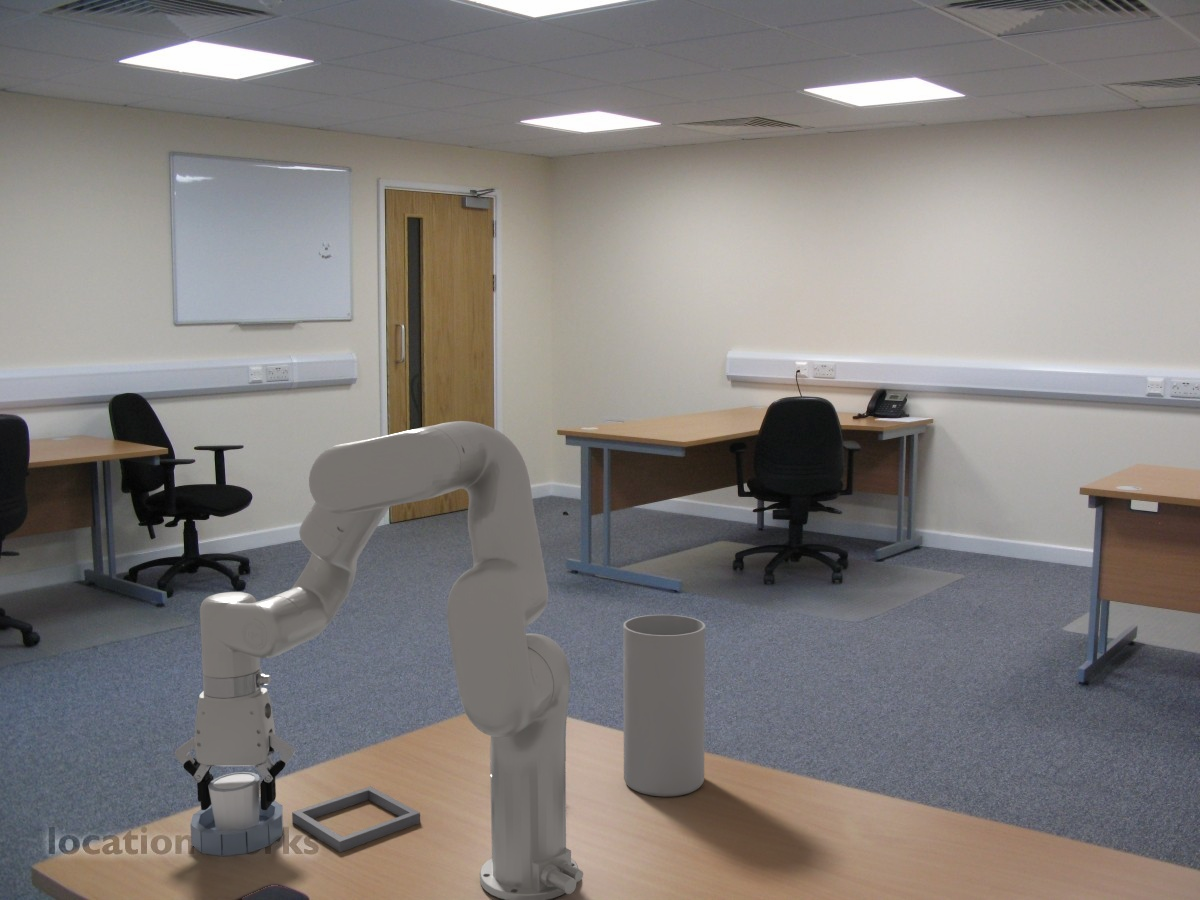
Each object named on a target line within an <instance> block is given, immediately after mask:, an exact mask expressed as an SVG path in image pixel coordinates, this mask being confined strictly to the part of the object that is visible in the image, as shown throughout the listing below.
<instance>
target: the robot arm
mask: <svg viewBox="0 0 1200 900" xmlns="http://www.w3.org/2000/svg"><path fill="white" fill-rule="evenodd" d="M308 486H309V491H310V492H309V493H310V494H311V497H312V498H313V500H314V501H315V502H314V504H313V505H312V507H311V508H310V509H309V511H308V514H307V515H306V517H304V520H303V521H302V523H301V525H300V527H299V538H300V540H301V542H302V544H303V545H304V546H305V548H306V549H307V550H308V551H309V553H311V555H310V558H309V559H308V562H307V564H306V565H305V567H304V569H303V570H302V572H301V574H300V576H298V578H297V580H296V581H295V583H294V585H292V587H291V588H290V589H288V590H286V591H283V592H280V593H278V594H275V595H273V596H271V597H268V598H266V599H262V600H258V601H257V599H256V598H255V596H254V595H252V594H251V593H248V592H243V591H228V592H220V593H215V594H211V595H209V596H207V597H205V598H204V599H203V600H202V602H201V605H200V607H199V617H200V620H199V622H200V639H201V642H200V644H201V662H202V665H201V666H202V683H203V691H201V693H200V694H199V697H198V700H197V701H198V702H197V706H196V707H197V708H196V716H195V722H194V723H195V724H194V726H195V727H194V736H193V737H191V738H190V739H188V740H187V741H185V742H184V744H181V745H180V746H179V747H178V748H177V749H176V750H175V751H174V757H175V758H176V759H177V760H178V761H179V763H181V764H182V765H183V769H184V770H185V771H186V772H187V773H188V774H189V775H191V777H192V779H193V781H194V782H195V783H196V784H197V785H196V787H197V790H196V791H197V801H198V802H200V810H206V809H208V808H209V806H210V805H211V799H210V794H209V788H208V785H209V783H210V782H211V781H212V780H214V776H213V774H212V773H210V771H211V770H212V768H213V767H255V769H256V770H257V772H258V774H259V776H261V777H262V781H260V798H261V809H262V810H267V809H268V808H269V806H270V805H271V804H272V802H274V801H276V797H277V791H276V789H277V787H276V777H277V776H278V775H280V773H281V771H283V769H285V767H286V766H287V765H288V763H289V762H290V760H291V759H292V758H293V756H294V755H295V753H296V748H295V747H294V746H292V745H291V744H290V743H288V742H286V741H285V740H284V739H282V737H280V736H278V735H277V734H276V727H275V720H274V713H273V709H272V708H273V707H272V703H271V698H270V695H269V691H268V688H266V687H264V686H266V685H269V686H270V684H271V682H272V677H271V674H266V673H263V669H262V667H261V659H270V658H275V657H277V656H280V655H282V654H284V653H287V652H288V651H290V650H292V649H294V648H296V647H297V646H301V645H302V644H304V643H306V642H308V641H311V640H312V639H314V638H316V637H318V636H319V635H320V634H321V633H322V632H323V631H324V630H325V629H326V628H327V627H328V626H329V624H330V623H331V622H332V620H333V618H334V617H335V616H336V615H337V613H338V611H339V610H340V608H341V607H342V605H343V603H344V602H345V600H346V599H347V597H348V595H349V594H350V593H351V592H350V591H351V590H352V587H353V585H354V581H355V577H356V572H357V567H358V559H359V557H360V555H361V553H362V552H363V550H364V549H365V547H366V545H367V544H368V542H369V540H370V539H371V537H372V536H373V534H374V532H375V531H376V530H377V527H379V524H380V523H381V521H382V520H383V518H384V517H385V515H386V514H387V513H388V511H389V509H390V507H393V506H399V505H404V504H409V503H414V502H415V503H416V502H419V501H425V500H426V501H427V500H430V499H433V498H437V497H440V496H442V495H446V494H449V493H452V492H456V491H458V490H460V489H461V490H465V491H466V492H467V495H468V496H467V497H468V508H467V530H468V534H469V540H470V544H471V545H470V546H471V553H472V559H473V561H472V562H473V563H472V565H473V567H471V568H469V569H467V570H465V571H464V572H463V573H462V574H461V575H460V576H459V577H458V578H457V579H456V580H455V582H454V583H453V585H452V587H451V589H450V590H449V594H448V598H447V603H446V623H447V630H448V632H447V633H448V637H449V643H450V647H451V655H452V659H453V660H452V661H453V667H454V673H455V679H456V684H457V685H456V686H457V689H458V694H459V699H460V703H461V705H462V707H463V711H464V713H465V715H466V717H467V718H468V720H469V721H470V723H471V724H472V725H473V726H474V727H475V728H476V729H477V730H479V731H480V732H482V733H483V734H484V735H487V736H490V746H489V747H490V748H489V749H490V750H489V751H490V752H489V753H490V756H489V757H490V770H489V771H490V824H491V825H490V826H491V827H490V828H491V833H490V834H491V837H490V838H491V858H489V859H488V860H486V862H484V863H483V865H482V866H481V868H480V870H479V882H480V885H481V887H482V888H483V889H484V891H485V892H487V893H489V894H490V895H491V896H494V897H496V898H497V899H501V900H552V899H555V898H557V897H560V896H562V895H564V894H567V895H570V894H573V892H575V890H576V888H577V883H578V882H580V881H581V880H582V879H583V878H584V872H583V870H581V869H579V866H578V864H577V862H576V861H575V860H574V859H573V858H572V850H571V849H569V848H567V813H566V812H567V798H566V797H567V796H566V795H567V789H566V785H567V784H566V779H567V777H566V775H567V772H566V769H567V768H566V766H567V765H566V764H567V763H566V761H567V759H566V758H567V756H566V755H567V752H566V751H567V746H566V745H567V743H566V742H567V741H566V739H567V732H566V731H567V717H568V708H569V701H570V700H569V699H570V690H571V670H570V664H569V662H568V661H569V660H568V658H567V655H566V653H565V652H564V650H563V649H562V646H560V644H558V642H556V641H555V640H554V639H552V638H551V637H549V636H546V635H544V634H541V633H527V632H526V628H527V627H528V626H530V625H531V624H532V623H534V622H535V621H536V620H537V619H538V618H539V617H540V616H541V615H542V614H543V613H544V611H545V609H546V607H547V604H548V602H549V585H548V581H547V579H548V578H547V574H546V570H545V564H544V558H543V551H542V546H541V540H540V534H539V529H538V523H537V519H536V513H535V506H534V500H533V495H532V487H531V481H530V477H529V473H528V468H527V465H526V461H525V460H524V458H523V456H522V454H521V452H520V451H519V449H518V448H517V446H516V445H515V444H514V443H513V441H512V440H511V439H510V438H508V437H507V436H506V435H505V434H504V433H502V432H500V430H498V429H495V428H493V427H491V426H489V425H487V424H483V423H479V422H475V421H469V420H467V421H466V420H458V421H457V420H455V421H449V422H443V423H439V424H434V425H429V426H424V427H422V426H421V427H419V428H414V429H410V430H405V431H400V432H396V433H391V434H388V435H383V436H379V437H374V438H370V439H363V440H357V441H352V442H347V443H341V444H336V445H333V446H331V447H329V448H327V449H325V450H324V451H323V452H321V453H320V454H319V456H317V458H315V460H314V462H313V464H312V466H311V468H310V471H309V477H308ZM193 749H194V756H195V757H193V756H192V753H191V751H192V750H193ZM275 752H278V753H279V754H280V757H279V759H278V760H277V761H276V762H275V761H273V760H272V758H271V755H273V754H275Z"/></svg>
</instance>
